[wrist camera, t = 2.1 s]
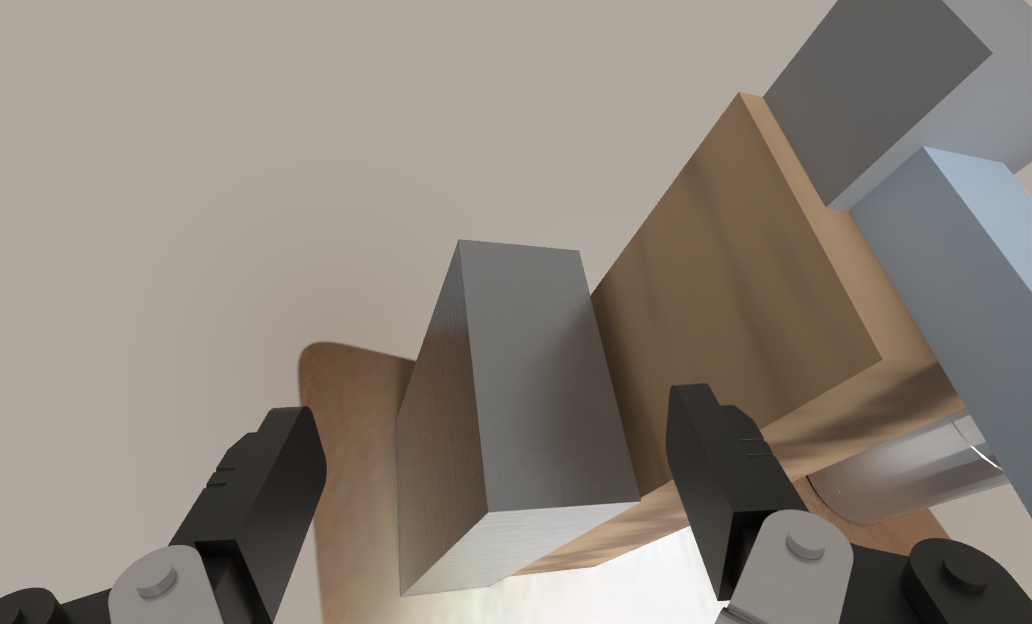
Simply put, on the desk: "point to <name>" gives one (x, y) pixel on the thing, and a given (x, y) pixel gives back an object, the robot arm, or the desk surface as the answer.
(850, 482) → the robot arm
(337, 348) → the desk surface
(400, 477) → the tall grey pillar
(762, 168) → the walnut stand
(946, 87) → the block
